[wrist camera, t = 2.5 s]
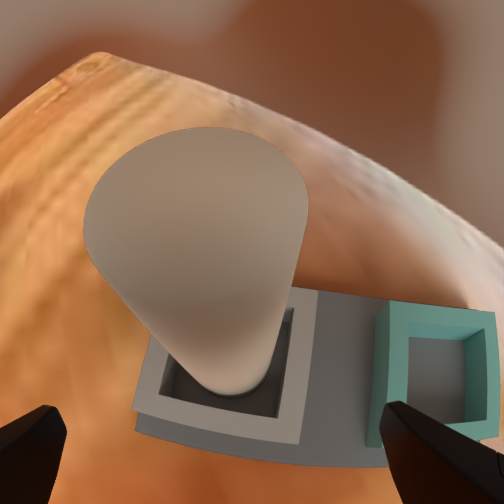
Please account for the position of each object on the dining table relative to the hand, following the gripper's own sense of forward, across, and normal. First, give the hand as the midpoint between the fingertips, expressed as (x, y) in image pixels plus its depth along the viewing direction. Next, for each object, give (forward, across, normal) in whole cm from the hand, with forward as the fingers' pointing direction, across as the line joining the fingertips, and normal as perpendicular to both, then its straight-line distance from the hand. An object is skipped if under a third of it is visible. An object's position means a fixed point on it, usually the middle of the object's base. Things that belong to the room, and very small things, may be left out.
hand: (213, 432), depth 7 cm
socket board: (+10, -6, +6) cm, 13 cm away
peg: (+10, 0, +4) cm, 11 cm away
